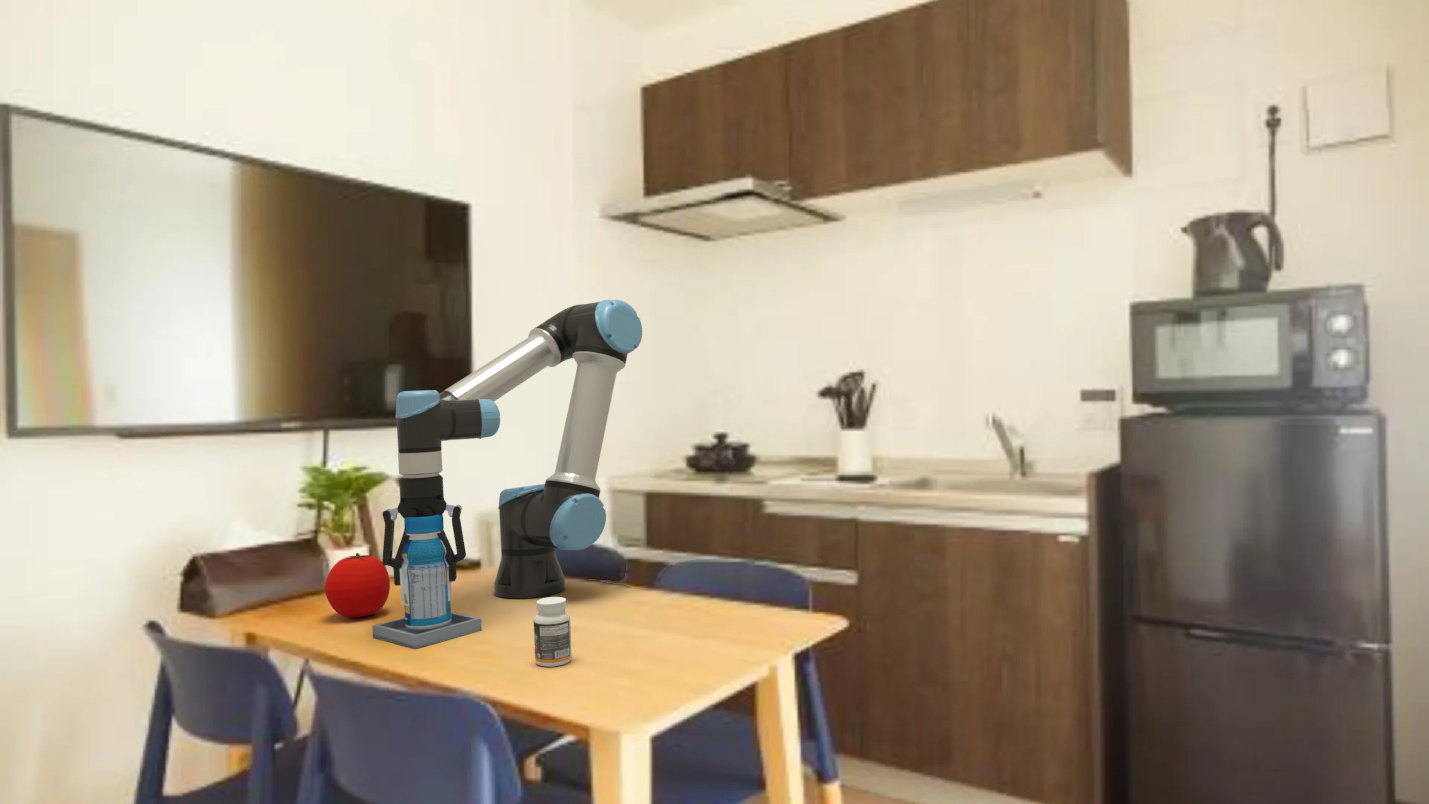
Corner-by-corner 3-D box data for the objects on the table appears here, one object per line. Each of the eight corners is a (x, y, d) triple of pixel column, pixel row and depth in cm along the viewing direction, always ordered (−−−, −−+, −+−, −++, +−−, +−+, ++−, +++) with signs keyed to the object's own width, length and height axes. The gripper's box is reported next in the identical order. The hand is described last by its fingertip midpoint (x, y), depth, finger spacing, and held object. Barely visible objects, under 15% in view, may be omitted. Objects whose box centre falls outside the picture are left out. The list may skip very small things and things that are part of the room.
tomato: (376, 606, 183) (374, 546, 183) (401, 614, 174) (398, 551, 174) (315, 618, 174) (312, 555, 174) (338, 628, 166) (335, 562, 166)
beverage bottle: (425, 632, 153) (420, 519, 153) (394, 627, 158) (389, 517, 158) (462, 621, 161) (457, 512, 160) (431, 616, 165) (426, 510, 165)
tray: (438, 620, 169) (437, 609, 169) (481, 630, 160) (481, 618, 160) (372, 637, 158) (372, 625, 158) (415, 649, 150) (415, 636, 150)
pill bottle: (537, 658, 142) (535, 597, 142) (573, 655, 142) (570, 595, 142) (533, 669, 136) (530, 605, 136) (570, 666, 137) (567, 603, 137)
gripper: (479, 470, 164) (484, 592, 165) (368, 476, 161) (373, 600, 161) (475, 474, 157) (480, 601, 157) (358, 480, 154) (364, 610, 154)
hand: (426, 601), depth 159 cm, fingers closed on beverage bottle, 7 cm apart
